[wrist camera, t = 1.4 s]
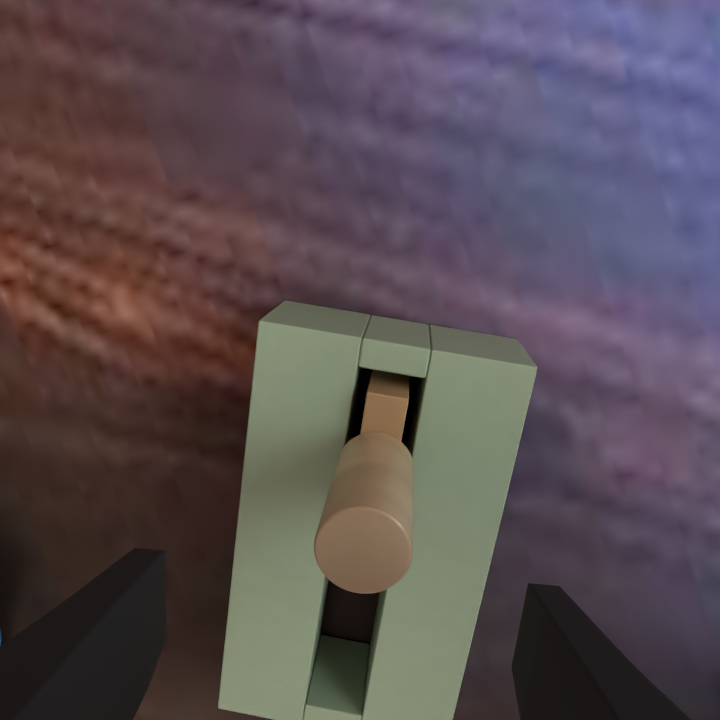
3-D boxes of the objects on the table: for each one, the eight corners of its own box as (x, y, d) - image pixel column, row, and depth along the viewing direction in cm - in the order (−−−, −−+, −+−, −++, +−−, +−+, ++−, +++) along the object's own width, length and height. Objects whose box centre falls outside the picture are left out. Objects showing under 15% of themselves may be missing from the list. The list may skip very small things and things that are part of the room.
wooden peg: (424, 364, 21) (429, 471, 13) (403, 478, 22) (395, 643, 14) (362, 353, 21) (326, 452, 13) (343, 468, 22) (301, 626, 14)
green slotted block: (518, 338, 20) (538, 367, 17) (440, 676, 24) (444, 754, 21) (284, 299, 21) (258, 320, 17) (244, 638, 24) (217, 708, 21)
